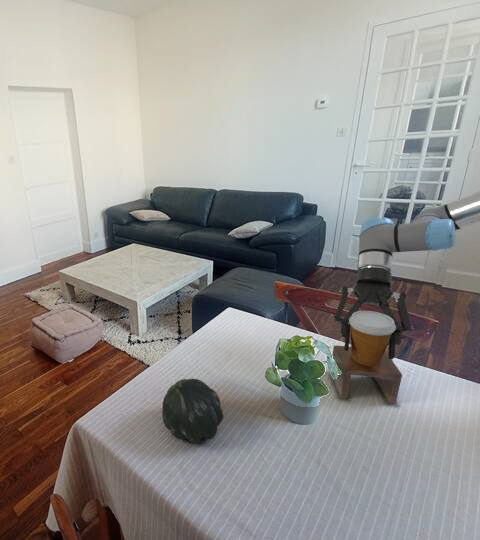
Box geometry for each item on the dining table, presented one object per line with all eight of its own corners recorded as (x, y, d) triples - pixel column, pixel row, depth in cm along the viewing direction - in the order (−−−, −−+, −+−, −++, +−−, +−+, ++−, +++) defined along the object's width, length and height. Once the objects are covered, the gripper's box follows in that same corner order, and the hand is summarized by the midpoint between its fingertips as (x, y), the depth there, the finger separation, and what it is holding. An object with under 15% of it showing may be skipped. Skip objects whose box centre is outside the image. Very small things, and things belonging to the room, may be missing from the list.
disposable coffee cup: (387, 374, 82) (396, 332, 78) (341, 362, 88) (347, 322, 84) (389, 354, 89) (397, 314, 84) (346, 344, 94) (352, 306, 90)
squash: (234, 394, 86) (193, 355, 85) (234, 444, 73) (185, 399, 72) (193, 416, 93) (155, 380, 92) (187, 465, 80) (142, 423, 79)
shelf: (379, 376, 94) (384, 348, 91) (395, 404, 85) (402, 374, 81) (330, 371, 98) (333, 345, 95) (340, 397, 88) (345, 369, 85)
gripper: (421, 281, 89) (419, 366, 82) (327, 273, 100) (318, 347, 93) (429, 270, 83) (428, 361, 76) (328, 262, 94) (319, 341, 87)
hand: (368, 353), depth 84 cm, fingers closed on disposable coffee cup, 8 cm apart
